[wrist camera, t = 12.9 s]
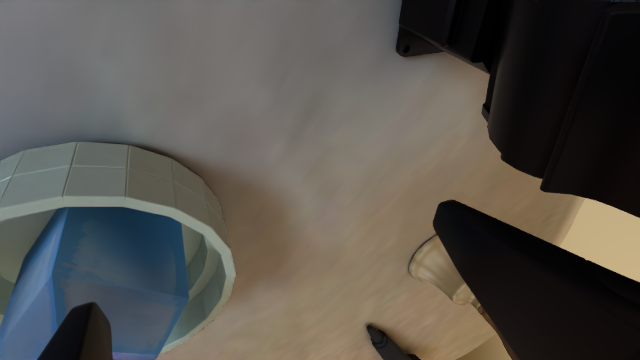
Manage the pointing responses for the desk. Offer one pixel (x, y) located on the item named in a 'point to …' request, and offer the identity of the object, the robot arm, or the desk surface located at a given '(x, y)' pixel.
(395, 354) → the microphone
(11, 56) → the desk surface
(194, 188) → the bowl
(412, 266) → the hand bell
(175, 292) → the perfume bottle
